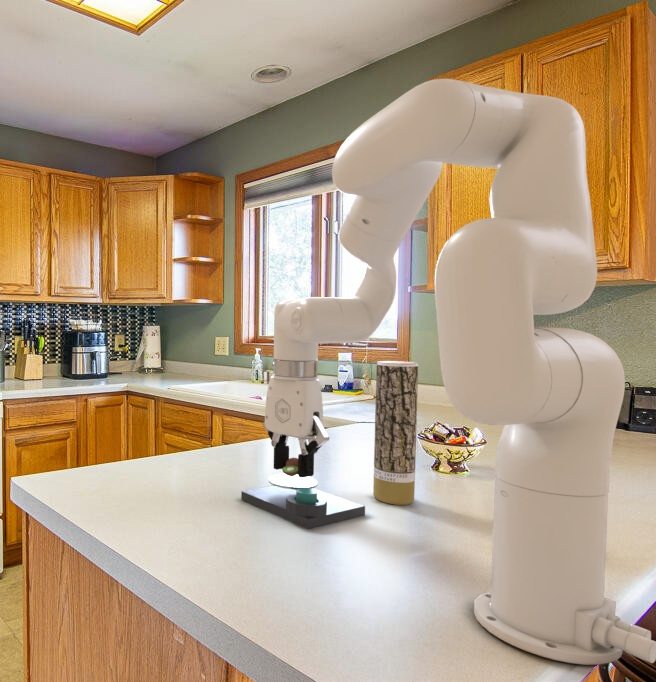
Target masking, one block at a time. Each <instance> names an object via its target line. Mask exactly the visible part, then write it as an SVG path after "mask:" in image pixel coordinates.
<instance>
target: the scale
mask: <svg viewBox="0 0 656 682" xmlns="http://www.w3.org/2000/svg"><path fill="white" fill-rule="evenodd" d="M312 490H315V491H316V492H317V503H314V504H306V503H300V502H298V501H296V490H294V489H286V488H281V487H277V486H274V485H267V486H263V487H257V488H251V489H247V490H241V495H240V496H241V498H240V499H241V501H243V502H244V503H247V504H249V505H251V506H254V507H256V508H258V509H260V510H263V511H265V512H267V513H270V514H272V515H273V516H274V515H275V516H277V517H278V518H280V519H284V520H285V521H288V522H291V523H293V524H295V525H297V526H299V527H301V528H304V529H306V530H313V529H317V528H321V527H325V526H330V525H333V524H337V523H341V522H345V521H349V520H354V519H357V518H361V517H365V516H366V505H363V504H361V503H357V502H354V501H352V500H350V499H346V498H344V497H340V496H337V495H336V494H332V493H329V492H326V491H323V490H320V489H317V488H316V487H315V488H312Z"/></svg>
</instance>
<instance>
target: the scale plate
mask: <svg viewBox="0 0 656 682" xmlns="http://www.w3.org/2000/svg"><path fill="white" fill-rule="evenodd" d="M268 483H269V484H270V485H271V486H273V485H274V486H277V487H281V488H286V489H294V490H297V489H301V488H306V489H312V488H315V489H316V488H317V486H318V481H317V480H316V479H315V478H313V477H311V476H309V477H304V478H301V477H299V476H298V474H297V475H296V476H288V475H286V474H285V473H279V474H273V475H270V476H269V477H268Z"/></svg>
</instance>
